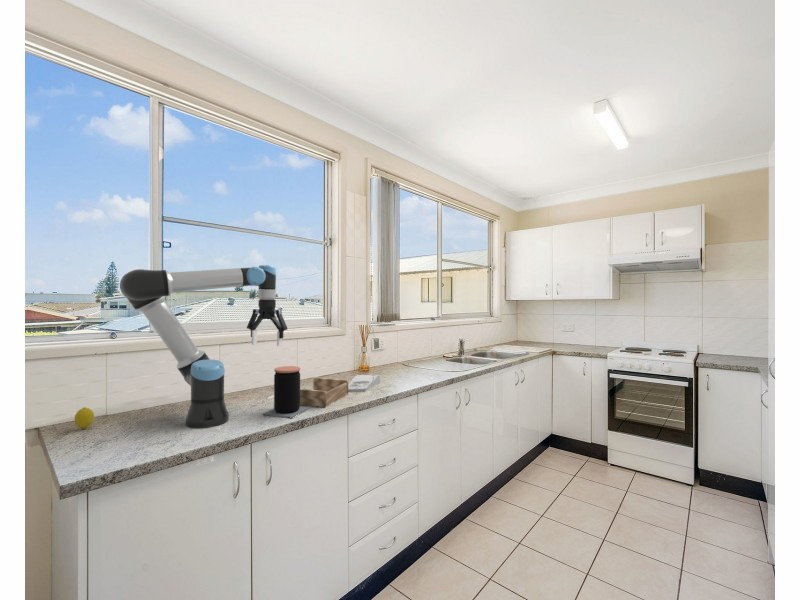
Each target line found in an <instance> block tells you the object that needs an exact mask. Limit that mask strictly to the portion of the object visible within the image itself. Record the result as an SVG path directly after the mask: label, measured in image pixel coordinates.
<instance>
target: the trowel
mask: <svg viewBox="0 0 800 600" xmlns="http://www.w3.org/2000/svg"><path fill="white" fill-rule="evenodd" d="M378 383H379V384H380V383H381V374H375V375H371V374H370V375H369V374H367V375H366V374H356V375H355V376H354V377H353V378H352V380H350V382H348V393H365V392H364V391H366V392H368V391H369V390H371V389H373V388H374V387H376V386H378ZM375 385H376V386H375ZM370 388H371V389H370ZM367 390H368V391H367Z"/></svg>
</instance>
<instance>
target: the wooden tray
mask: <svg viewBox="0 0 800 600" xmlns="http://www.w3.org/2000/svg"><path fill="white" fill-rule="evenodd" d="M312 381H313V383H312V385H313V386H312V387H313V388H312V389H308V388H307V389H306V388H300V406H307V405H310V406H309V407H316V406H319V407H318V408H326V406H327V407H328V406H330V405H332V404H333V402H334V403H336V402H337V401H338V399H339V400H341V399H342V398H344V397H346V396H348V395H349V392H348V384H349V380H348V379H336V378H324V377H313V379H312ZM340 398H341V399H340ZM331 403H332V404H331ZM329 404H330V405H329Z"/></svg>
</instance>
